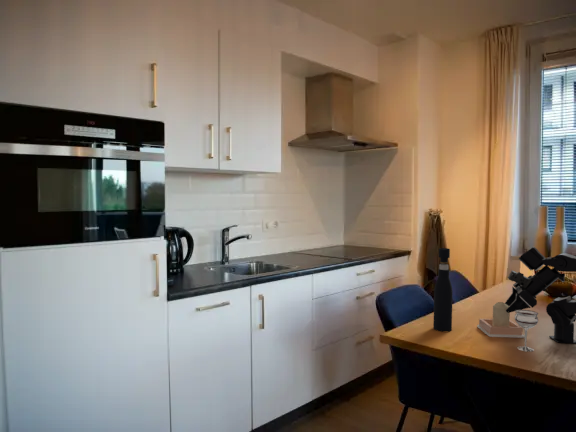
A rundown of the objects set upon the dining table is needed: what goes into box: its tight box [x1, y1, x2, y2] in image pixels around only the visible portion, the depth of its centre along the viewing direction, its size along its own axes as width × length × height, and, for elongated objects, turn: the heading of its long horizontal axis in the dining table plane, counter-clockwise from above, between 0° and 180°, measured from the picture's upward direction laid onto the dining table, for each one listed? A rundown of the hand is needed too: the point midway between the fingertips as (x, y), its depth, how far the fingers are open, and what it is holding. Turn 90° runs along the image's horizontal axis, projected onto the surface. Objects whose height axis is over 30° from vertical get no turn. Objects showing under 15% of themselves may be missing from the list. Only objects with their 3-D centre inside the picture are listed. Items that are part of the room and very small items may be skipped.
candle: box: [492, 301, 511, 327], centre depth 161 cm, size 6×6×10 cm
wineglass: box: [514, 309, 539, 352], centre depth 143 cm, size 7×7×12 cm
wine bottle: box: [433, 247, 454, 332], centre depth 164 cm, size 6×6×30 cm
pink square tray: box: [476, 318, 525, 339], centre depth 161 cm, size 12×12×3 cm
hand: (505, 308), depth 160 cm, fingers open, 9 cm apart
